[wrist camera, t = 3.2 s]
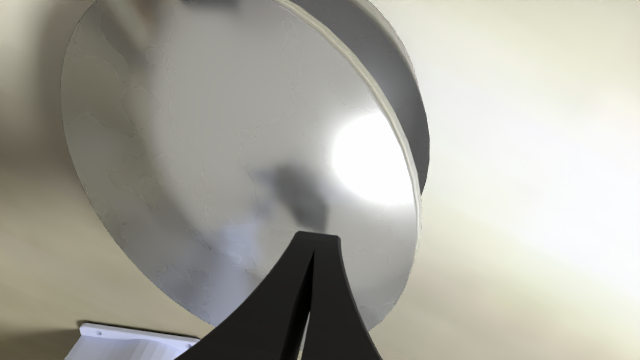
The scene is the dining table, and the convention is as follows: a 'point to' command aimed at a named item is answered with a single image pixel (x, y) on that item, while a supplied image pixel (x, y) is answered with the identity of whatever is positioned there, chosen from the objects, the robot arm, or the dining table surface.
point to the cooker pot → (380, 65)
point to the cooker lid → (237, 148)
